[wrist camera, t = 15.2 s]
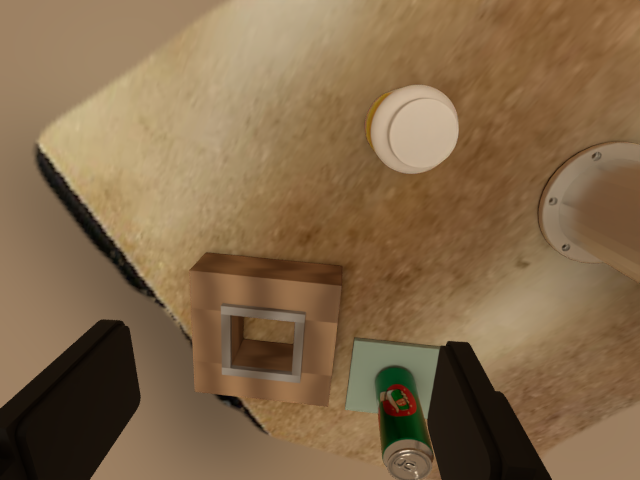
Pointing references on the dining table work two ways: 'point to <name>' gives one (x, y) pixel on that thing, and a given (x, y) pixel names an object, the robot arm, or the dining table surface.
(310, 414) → the dining table surface
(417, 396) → the soda can
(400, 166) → the supplement bottle
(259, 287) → the housing
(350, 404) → the mat
